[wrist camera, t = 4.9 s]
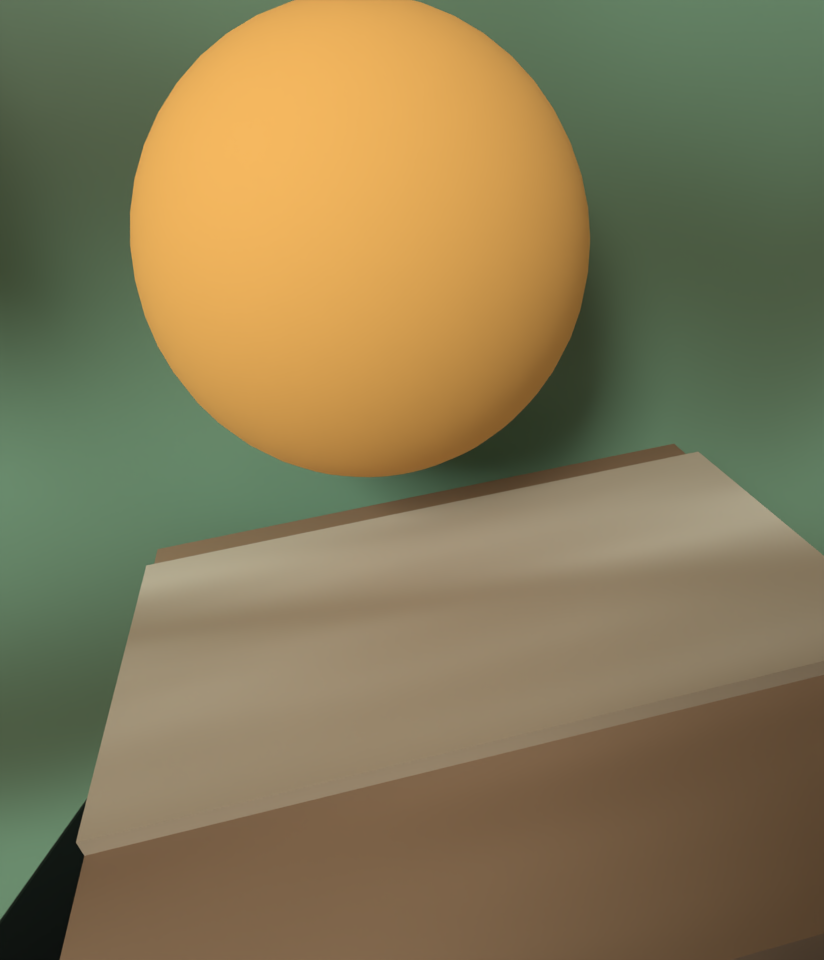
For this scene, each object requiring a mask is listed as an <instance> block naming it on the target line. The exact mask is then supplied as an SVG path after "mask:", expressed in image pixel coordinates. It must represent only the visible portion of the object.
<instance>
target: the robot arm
mask: <svg viewBox="0 0 824 960" xmlns="http://www.w3.org/2000/svg"><path fill="white" fill-rule="evenodd" d="M86 801H87V799H86V800H85V802H84V803H83V804H82V806H81V807H80V809H79V810H78V811H77V813H76V814H75V816H74V817H73V818H72V820H71V821H70V823H69V824H68V825H67V827H66V828H65V830H64V831H63V832H62V834H61V835H60V837H59V838H58V839H57V841H56V842H55V844H54V845H53V846H52V848H51V849H50V851H49V852H48V853H47V855H46V856H45V858H44V859H43V860H42V862H41V863H40V865H39V866H38V867H37V869H36V870H35V872H34V873H33V874H32V876H31V877H30V879H29V880H28V881H27V883H26V884H25V886H24V887H23V888H22V890H21V891H20V893H19V894H18V895H17V897H16V898H15V900H14V901H13V903H12V904H11V905H10V907H9V908H8V910H7V911H6V912H5V914H4V915H3V917H2V918H1V919H0V960H60V956H61V952H62V948H63V944H64V939H65V935H66V931H67V927H68V923H69V918H70V914H71V910H72V906H73V902H74V897H75V893H76V889H77V885H78V881H79V877H80V872H81V868H82V864H83V860H84V854H83V853H82V851H81V850H80V848H79V847H78V845H77V843H76V840H77V836H78V832H79V828H80V824H81V820H82V816H83V812H84V809H85V805H86Z"/></svg>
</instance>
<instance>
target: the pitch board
mask: <svg viewBox="0 0 824 960" xmlns="http://www.w3.org/2000/svg"><path fill="white" fill-rule="evenodd" d="M291 1H294V0H0V919H1V918H2V917H3V915H4V914H5V912H6V911H7V910H8V908H9V907H10V905H11V904H12V903H13V901H14V900H15V898H16V897H17V895H18V894H19V893H20V891H21V890H22V888H23V887H24V886H25V884H26V883H27V881H28V880H29V879H30V877H31V876H32V874H33V873H34V872H35V870H36V869H37V867H38V866H39V865H40V863H41V862H42V860H43V859H44V858H45V856H46V855H47V853H48V852H49V851H50V849H51V848H52V846H53V845H54V844H55V842H56V841H57V839H58V838H59V837H60V835H61V834H62V832H63V831H64V830H65V828H66V827H67V825H68V824H69V823H70V821H71V820H72V818H73V817H74V816H75V814H76V813H77V811H78V810H79V809H80V807H81V806H82V804H83V803H84V802H85V800H86V799H87V797H88V793H89V789H90V785H91V781H92V777H93V773H94V769H95V765H96V761H97V757H98V754H99V750H100V746H101V742H102V738H103V734H104V730H105V726H106V722H107V718H108V714H109V710H110V706H111V702H112V699H113V695H114V691H115V687H116V683H117V679H118V675H119V671H120V667H121V663H122V659H123V655H124V651H125V647H126V643H127V640H128V636H129V632H130V628H131V624H132V620H133V616H134V612H135V608H136V604H137V600H138V596H139V592H140V588H141V585H142V581H143V577H144V573H145V569H146V565H151V564H154V562H155V558H156V554H157V550H158V549H161V548H166V547H171V546H176V545H180V544H185V543H190V542H195V541H200V540H205V539H210V538H215V537H220V536H224V535H229V534H234V533H239V532H244V531H249V530H254V529H259V528H264V527H269V526H273V525H278V524H283V523H288V522H293V521H298V520H303V519H308V518H313V517H317V516H322V515H327V514H332V513H337V512H342V511H347V510H352V509H357V508H361V507H366V506H371V505H376V504H381V503H386V502H391V501H396V500H401V499H405V498H410V497H415V496H420V495H425V494H430V493H435V492H440V491H445V490H449V489H454V488H459V487H464V486H469V485H474V484H479V483H484V482H489V481H494V480H498V479H503V478H508V477H513V476H518V475H523V474H528V473H533V472H538V471H542V470H547V469H552V468H557V467H562V466H567V465H572V464H577V463H582V462H586V461H591V460H596V459H601V458H606V457H611V456H616V455H621V454H626V453H630V452H635V451H640V450H645V449H650V448H655V447H660V446H665V445H670V444H675V445H676V446H677V447H679V448H680V449H681V450H682V451H683V452H684V453H685V454H689V453H694V452H699V453H701V454H702V455H703V456H704V457H705V458H707V459H708V460H709V461H710V462H711V463H713V464H714V465H715V466H716V467H717V468H719V469H720V470H721V471H722V472H723V473H725V474H726V475H727V476H728V477H729V478H731V479H732V480H733V481H734V482H735V483H737V484H738V485H739V486H740V487H742V488H743V489H744V490H745V491H746V492H748V493H749V494H750V495H751V496H752V497H754V498H755V499H756V500H757V501H758V502H760V503H761V504H762V505H763V506H764V507H766V508H767V509H768V510H769V511H770V512H772V513H773V514H774V515H775V516H776V517H778V518H779V519H780V520H781V521H783V522H784V523H785V524H786V525H787V526H789V527H790V528H791V529H792V530H793V531H795V532H796V533H797V534H798V535H799V536H801V537H802V538H803V539H804V540H805V541H807V542H808V543H809V544H810V545H811V546H813V547H814V548H815V549H816V550H818V551H819V552H820V553H821V554H822V555H824V0H414V1H418V2H422V3H424V4H427V5H429V6H432V7H434V8H437V9H439V10H441V11H444V12H446V13H449V14H451V15H454V16H456V17H457V18H459V19H461V20H462V21H464V22H466V23H467V24H469V25H471V26H472V27H474V28H476V29H477V30H479V31H481V32H483V33H484V34H485V35H487V36H488V37H489V38H490V39H492V40H493V41H494V42H495V43H496V44H498V45H499V46H500V47H501V48H503V49H504V50H505V51H506V52H507V53H509V54H510V55H511V56H512V57H513V58H514V59H515V60H516V61H517V62H518V63H519V65H520V66H521V67H522V68H523V69H524V70H525V71H526V72H527V73H528V74H529V75H530V77H531V78H532V79H533V80H534V81H535V82H536V84H537V85H538V87H539V88H540V90H541V91H542V93H543V94H544V95H545V97H546V98H547V100H548V101H549V103H550V104H551V106H552V107H553V109H554V110H555V112H556V114H557V116H558V118H559V120H560V122H561V124H562V126H563V128H564V130H565V132H566V134H567V136H568V138H569V140H570V143H571V146H572V148H573V151H574V154H575V157H576V160H577V163H578V166H579V169H580V172H581V175H582V179H583V184H584V190H585V195H586V200H587V205H588V213H589V229H590V250H589V265H588V274H587V280H586V285H585V290H584V294H583V299H582V304H581V309H580V312H579V315H578V318H577V321H576V324H575V327H574V330H573V332H572V335H571V338H570V340H569V342H568V344H567V346H566V348H565V350H564V352H563V354H562V355H561V357H560V359H559V361H558V363H557V365H556V367H555V369H554V370H553V372H552V374H551V375H550V376H549V378H548V379H547V381H546V382H545V384H544V385H543V386H542V388H541V389H540V391H539V392H538V393H537V394H536V396H535V397H534V398H533V399H532V400H531V401H530V403H529V404H528V405H527V406H526V407H525V408H524V409H523V410H522V411H521V412H520V413H519V414H518V415H517V416H516V417H515V418H514V419H513V420H512V421H511V422H510V423H508V424H507V425H506V426H505V427H504V428H502V429H501V430H500V431H498V432H497V433H496V434H494V435H493V436H491V437H490V438H489V439H487V440H486V441H484V442H483V443H481V444H480V445H478V446H477V447H475V448H473V449H472V450H470V451H468V452H466V453H464V454H462V455H460V456H457V457H455V458H453V459H450V460H448V461H445V462H443V463H441V464H438V465H435V466H432V467H429V468H426V469H423V470H419V471H415V472H411V473H406V474H400V475H393V476H384V477H351V476H339V475H330V474H325V473H320V472H315V471H312V470H308V469H305V468H302V467H298V466H295V465H292V464H289V463H286V462H283V461H281V460H279V459H277V458H275V457H273V456H270V455H268V454H266V453H264V452H262V451H260V450H258V449H256V448H254V447H252V446H250V445H249V444H247V443H246V442H245V441H243V440H242V439H240V438H239V437H238V436H236V435H235V434H233V433H232V432H230V431H229V430H228V429H226V428H225V427H224V426H222V425H221V424H220V423H218V422H217V421H216V420H215V419H214V418H213V417H212V416H211V415H210V414H209V413H208V412H207V411H206V410H205V409H203V408H202V407H201V406H200V405H199V404H198V403H197V401H196V400H195V399H194V398H193V396H192V395H191V394H190V393H189V391H188V390H187V389H186V388H185V386H184V385H183V384H182V383H181V381H180V380H179V379H178V377H177V376H176V375H175V374H174V372H173V371H172V369H171V368H170V366H169V364H168V362H167V361H166V359H165V357H164V356H163V354H162V352H161V351H160V349H159V347H158V346H157V343H156V341H155V339H154V336H153V334H152V332H151V329H150V327H149V325H148V322H147V320H146V318H145V315H144V311H143V308H142V304H141V300H140V297H139V293H138V290H137V286H136V282H135V277H134V269H133V262H132V255H131V248H130V209H131V201H132V194H133V186H134V179H135V175H136V171H137V168H138V164H139V161H140V157H141V153H142V150H143V146H144V143H145V141H146V139H147V137H148V134H149V132H150V130H151V128H152V125H153V123H154V121H155V118H156V116H157V114H158V112H159V110H160V109H161V107H162V106H163V104H164V102H165V101H166V99H167V98H168V96H169V94H170V93H171V91H172V90H173V88H174V86H175V85H176V83H177V82H178V81H179V80H180V79H181V77H182V76H183V75H184V74H185V73H186V72H187V70H188V69H189V68H190V67H191V66H192V65H193V63H194V62H195V61H196V60H197V59H198V58H199V57H200V56H201V55H202V54H203V53H204V52H205V51H206V50H208V49H209V48H210V47H211V46H212V45H214V44H215V43H216V42H217V41H218V40H219V39H221V38H222V37H223V36H224V35H225V34H227V33H228V32H230V31H231V30H233V29H235V28H236V27H238V26H240V25H241V24H243V23H245V22H246V21H248V20H250V19H251V18H253V17H254V16H256V15H258V14H261V13H263V12H266V11H268V10H271V9H273V8H276V7H278V6H281V5H283V4H286V3H288V2H291Z"/></svg>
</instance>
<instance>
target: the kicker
mask: <svg viewBox="0 0 824 960" xmlns="http://www.w3.org/2000/svg"><path fill="white" fill-rule="evenodd" d="M76 843H77V845H78V847H79V848H80V850H81V851H82V853H83V854H84V860H83V864H82V868H81V872H80V877H79V881H78V885H77V889H76V893H75V897H74V902H73V906H72V910H71V914H70V918H69V923H68V927H67V931H66V935H65V939H64V944H63V948H62V952H61V956H60V960H824V555H822V554H821V553H820V552H819V551H818V550H816V549H815V548H814V547H813V546H811V545H810V544H809V543H808V542H807V541H805V540H804V539H803V538H802V537H801V536H799V535H798V534H797V533H796V532H795V531H793V530H792V529H791V528H790V527H789V526H787V525H786V524H785V523H784V522H783V521H781V520H780V519H779V518H778V517H776V516H775V515H774V514H773V513H772V512H770V511H769V510H768V509H767V508H766V507H764V506H763V505H762V504H761V503H760V502H758V501H757V500H756V499H755V498H754V497H752V496H751V495H750V494H749V493H748V492H746V491H745V490H744V489H743V488H742V487H740V486H739V485H738V484H737V483H735V482H734V481H733V480H732V479H731V478H729V477H728V476H727V475H726V474H725V473H723V472H722V471H721V470H720V469H719V468H717V467H716V466H715V465H714V464H713V463H711V462H710V461H709V460H708V459H707V458H705V457H704V456H703V455H702V454H701V453H699V452H694V453H689V454H685V453H684V452H683V451H682V450H681V449H680V448H679V447H677V446H676V445H675V444H670V445H665V446H660V447H655V448H650V449H645V450H640V451H635V452H630V453H626V454H621V455H616V456H611V457H606V458H601V459H596V460H591V461H586V462H582V463H577V464H572V465H567V466H562V467H557V468H552V469H547V470H542V471H538V472H533V473H528V474H523V475H518V476H513V477H508V478H503V479H498V480H494V481H489V482H484V483H479V484H474V485H469V486H464V487H459V488H454V489H449V490H445V491H440V492H435V493H430V494H425V495H420V496H415V497H410V498H405V499H401V500H396V501H391V502H386V503H381V504H376V505H371V506H366V507H361V508H357V509H352V510H347V511H342V512H337V513H332V514H327V515H322V516H317V517H313V518H308V519H303V520H298V521H293V522H288V523H283V524H278V525H273V526H269V527H264V528H259V529H254V530H249V531H244V532H239V533H234V534H229V535H224V536H220V537H215V538H210V539H205V540H200V541H195V542H190V543H185V544H180V545H176V546H171V547H166V548H161V549H158V550H157V554H156V558H155V562H154V564H151V565H146V569H145V573H144V577H143V581H142V585H141V588H140V592H139V596H138V600H137V604H136V608H135V612H134V616H133V620H132V624H131V628H130V632H129V636H128V640H127V643H126V647H125V651H124V655H123V659H122V663H121V667H120V671H119V675H118V679H117V683H116V687H115V691H114V695H113V699H112V702H111V706H110V710H109V714H108V718H107V722H106V726H105V730H104V734H103V738H102V742H101V746H100V750H99V754H98V757H97V761H96V765H95V769H94V773H93V777H92V781H91V785H90V789H89V793H88V797H87V801H86V805H85V809H84V812H83V816H82V820H81V824H80V828H79V832H78V836H77V840H76Z"/></svg>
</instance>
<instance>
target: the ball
mask: <svg viewBox="0 0 824 960" xmlns="http://www.w3.org/2000/svg"><path fill="white" fill-rule="evenodd" d="M130 248H131V255H132V262H133V269H134V277H135V282H136V286H137V290H138V293H139V297H140V300H141V304H142V308H143V311H144V315H145V318H146V320H147V322H148V325H149V327H150V329H151V332H152V334H153V336H154V339H155V341H156V343H157V346H158V347H159V349H160V351H161V352H162V354H163V356H164V357H165V359H166V361H167V362H168V364H169V366H170V368H171V369H172V371H173V372H174V374H175V375H176V376H177V377H178V379H179V380H180V381H181V383H182V384H183V385H184V386H185V388H186V389H187V390H188V391H189V393H190V394H191V395H192V396H193V398H194V399H195V400H196V401H197V403H198V404H199V405H200V406H201V407H202V408H203V409H205V410H206V411H207V412H208V413H209V414H210V415H211V416H212V417H213V418H214V419H215V420H216V421H217V422H218V423H220V424H221V425H222V426H224V427H225V428H226V429H228V430H229V431H230V432H232V433H233V434H235V435H236V436H238V437H239V438H240V439H242V440H243V441H245V442H246V443H247V444H249V445H250V446H252V447H254V448H256V449H258V450H260V451H262V452H264V453H266V454H268V455H270V456H273V457H275V458H277V459H279V460H281V461H283V462H286V463H289V464H292V465H295V466H298V467H302V468H305V469H308V470H312V471H315V472H320V473H325V474H330V475H339V476H351V477H384V476H393V475H400V474H406V473H411V472H415V471H419V470H423V469H426V468H429V467H432V466H435V465H438V464H441V463H443V462H445V461H448V460H450V459H453V458H455V457H457V456H460V455H462V454H464V453H466V452H468V451H470V450H472V449H473V448H475V447H477V446H478V445H480V444H481V443H483V442H484V441H486V440H487V439H489V438H490V437H491V436H493V435H494V434H496V433H497V432H498V431H500V430H501V429H502V428H504V427H505V426H506V425H507V424H508V423H510V422H511V421H512V420H513V419H514V418H515V417H516V416H517V415H518V414H519V413H520V412H521V411H522V410H523V409H524V408H525V407H526V406H527V405H528V404H529V403H530V401H531V400H532V399H533V398H534V397H535V396H536V394H537V393H538V392H539V391H540V389H541V388H542V386H543V385H544V384H545V382H546V381H547V379H548V378H549V376H550V375H551V374H552V372H553V370H554V369H555V367H556V365H557V363H558V361H559V359H560V357H561V355H562V354H563V352H564V350H565V348H566V346H567V344H568V342H569V340H570V338H571V335H572V332H573V330H574V327H575V324H576V321H577V318H578V315H579V312H580V309H581V304H582V299H583V294H584V290H585V285H586V280H587V274H588V265H589V250H590V229H589V213H588V205H587V200H586V195H585V190H584V184H583V179H582V175H581V172H580V169H579V166H578V163H577V160H576V157H575V154H574V151H573V148H572V146H571V143H570V140H569V138H568V136H567V134H566V132H565V130H564V128H563V126H562V124H561V122H560V120H559V118H558V116H557V114H556V112H555V110H554V109H553V107H552V106H551V104H550V103H549V101H548V100H547V98H546V97H545V95H544V94H543V93H542V91H541V90H540V88H539V87H538V85H537V84H536V82H535V81H534V80H533V79H532V78H531V77H530V75H529V74H528V73H527V72H526V71H525V70H524V69H523V68H522V67H521V66H520V65H519V63H518V62H517V61H516V60H515V59H514V58H513V57H512V56H511V55H510V54H509V53H507V52H506V51H505V50H504V49H503V48H501V47H500V46H499V45H498V44H496V43H495V42H494V41H493V40H492V39H490V38H489V37H488V36H487V35H485V34H484V33H483V32H481V31H479V30H477V29H476V28H474V27H472V26H471V25H469V24H467V23H466V22H464V21H462V20H461V19H459V18H457V17H456V16H454V15H451V14H449V13H446V12H444V11H441V10H439V9H437V8H434V7H432V6H429V5H427V4H424V3H422V2H418V1H414V0H294V1H291V2H288V3H286V4H283V5H281V6H278V7H276V8H273V9H271V10H268V11H266V12H263V13H261V14H258V15H256V16H254V17H253V18H251V19H250V20H248V21H246V22H245V23H243V24H241V25H240V26H238V27H236V28H235V29H233V30H231V31H230V32H228V33H227V34H225V35H224V36H223V37H222V38H221V39H219V40H218V41H217V42H216V43H215V44H214V45H212V46H211V47H210V48H209V49H208V50H206V51H205V52H204V53H203V54H202V55H201V56H200V57H199V58H198V59H197V60H196V61H195V62H194V63H193V65H192V66H191V67H190V68H189V69H188V70H187V72H186V73H185V74H184V75H183V76H182V77H181V79H180V80H179V81H178V82H177V83H176V85H175V86H174V88H173V90H172V91H171V93H170V94H169V96H168V98H167V99H166V101H165V102H164V104H163V106H162V107H161V109H160V110H159V112H158V114H157V116H156V118H155V121H154V123H153V125H152V128H151V130H150V132H149V134H148V137H147V139H146V141H145V143H144V146H143V150H142V153H141V157H140V161H139V164H138V168H137V171H136V175H135V179H134V186H133V194H132V201H131V209H130Z"/></svg>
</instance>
